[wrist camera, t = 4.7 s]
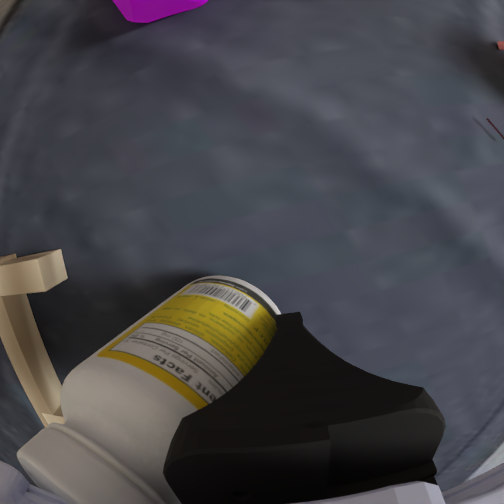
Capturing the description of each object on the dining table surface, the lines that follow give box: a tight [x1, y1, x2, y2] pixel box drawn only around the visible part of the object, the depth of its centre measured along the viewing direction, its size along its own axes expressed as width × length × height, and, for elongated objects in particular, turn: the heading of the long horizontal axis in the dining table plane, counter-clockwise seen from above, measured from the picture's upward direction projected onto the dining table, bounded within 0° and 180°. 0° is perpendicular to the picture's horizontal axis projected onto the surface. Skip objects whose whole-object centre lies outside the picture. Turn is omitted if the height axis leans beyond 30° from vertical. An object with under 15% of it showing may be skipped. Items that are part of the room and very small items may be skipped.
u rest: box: [0, 249, 68, 428], centre depth 13 cm, size 5×11×2 cm, turn 8°
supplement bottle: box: [17, 275, 281, 504], centre depth 9 cm, size 5×5×10 cm
